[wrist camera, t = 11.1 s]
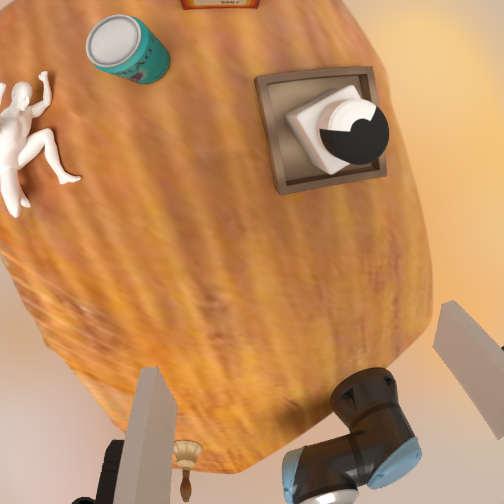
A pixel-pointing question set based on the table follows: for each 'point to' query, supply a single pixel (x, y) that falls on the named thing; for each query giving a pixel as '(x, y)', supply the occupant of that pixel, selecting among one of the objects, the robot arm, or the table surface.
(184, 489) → the hand bell
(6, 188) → the person figurine
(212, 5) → the baking soda box
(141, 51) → the beverage can
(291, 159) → the crate
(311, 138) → the container
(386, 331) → the table surface
